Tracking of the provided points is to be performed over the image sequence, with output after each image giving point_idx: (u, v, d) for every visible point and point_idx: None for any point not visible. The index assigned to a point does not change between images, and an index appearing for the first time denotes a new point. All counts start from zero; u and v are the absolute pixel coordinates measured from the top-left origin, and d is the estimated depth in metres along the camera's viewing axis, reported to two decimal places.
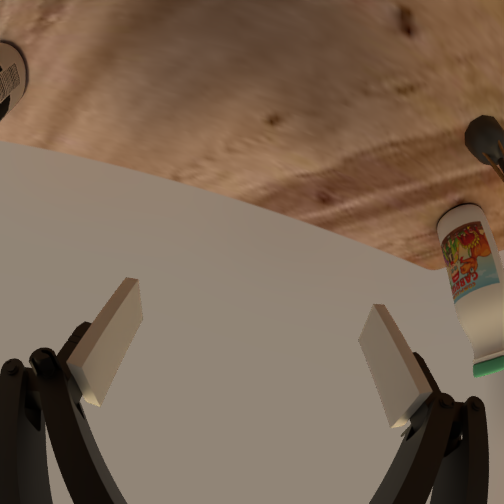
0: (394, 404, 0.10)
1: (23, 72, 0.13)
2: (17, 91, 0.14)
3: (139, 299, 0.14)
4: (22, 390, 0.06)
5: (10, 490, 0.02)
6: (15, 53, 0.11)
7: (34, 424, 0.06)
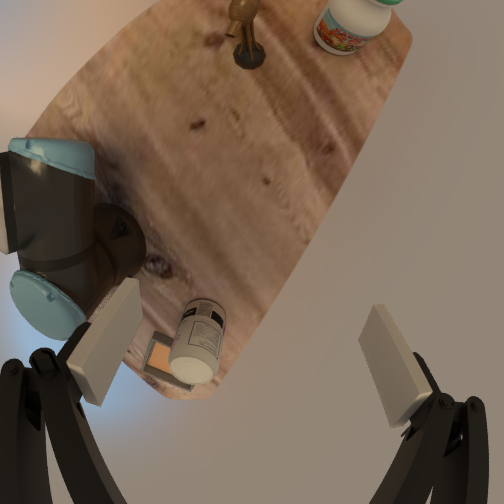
0: (394, 404, 0.10)
1: (209, 301, 0.50)
2: (215, 307, 0.49)
3: (139, 299, 0.14)
4: (22, 390, 0.06)
5: (10, 490, 0.02)
6: (196, 300, 0.50)
7: (34, 424, 0.06)
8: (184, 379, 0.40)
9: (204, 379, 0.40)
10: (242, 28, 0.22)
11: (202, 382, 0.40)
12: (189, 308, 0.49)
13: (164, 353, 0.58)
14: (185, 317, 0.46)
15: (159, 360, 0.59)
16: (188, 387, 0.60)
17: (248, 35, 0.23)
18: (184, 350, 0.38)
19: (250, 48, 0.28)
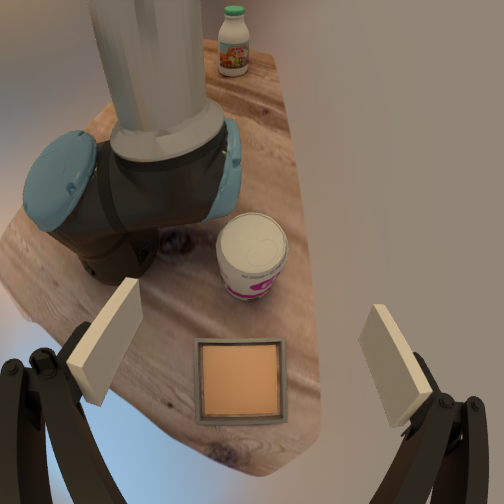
0: (394, 404, 0.10)
1: None
2: None
3: (139, 299, 0.14)
4: (22, 390, 0.06)
5: (10, 490, 0.02)
6: None
7: (34, 424, 0.06)
8: (251, 268, 0.29)
9: (276, 249, 0.30)
10: None
11: (277, 258, 0.29)
12: None
13: (221, 376, 0.38)
14: None
15: (219, 395, 0.37)
16: (280, 418, 0.35)
17: None
18: None
19: None
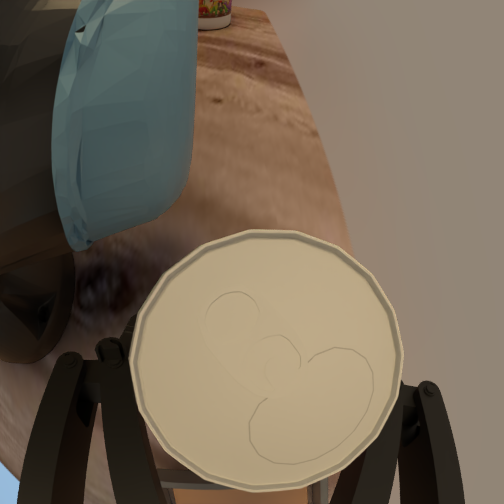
0: None
1: None
2: None
3: None
4: (78, 386, 0.07)
5: (43, 484, 0.03)
6: None
7: (82, 419, 0.08)
8: (271, 473, 0.05)
9: (372, 381, 0.06)
10: None
11: (374, 417, 0.06)
12: None
13: None
14: None
15: None
16: None
17: None
18: (183, 260, 0.08)
19: None
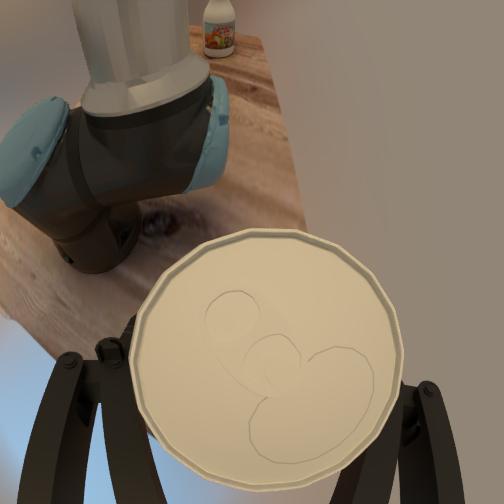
0: None
1: None
2: None
3: None
4: (78, 386, 0.07)
5: (42, 484, 0.03)
6: None
7: (82, 419, 0.08)
8: (271, 473, 0.05)
9: (372, 381, 0.06)
10: None
11: (374, 416, 0.06)
12: None
13: None
14: None
15: None
16: None
17: None
18: None
19: None
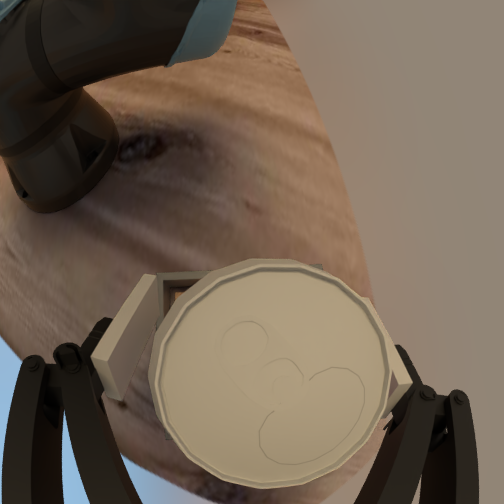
0: None
1: None
2: None
3: (157, 295, 0.15)
4: (42, 387, 0.07)
5: (21, 487, 0.03)
6: None
7: (51, 421, 0.07)
8: (277, 472, 0.06)
9: (363, 395, 0.07)
10: None
11: (364, 425, 0.07)
12: None
13: None
14: None
15: None
16: None
17: None
18: (197, 287, 0.08)
19: None
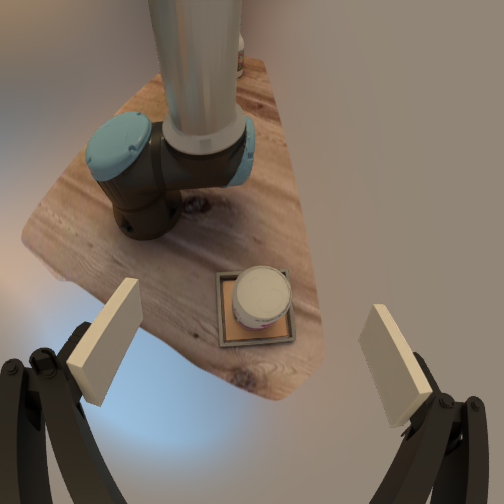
0: (394, 404, 0.10)
1: None
2: None
3: (139, 299, 0.14)
4: (22, 390, 0.06)
5: (10, 490, 0.02)
6: None
7: (34, 424, 0.06)
8: (262, 314, 0.35)
9: (282, 296, 0.36)
10: None
11: (283, 304, 0.36)
12: None
13: None
14: None
15: None
16: (290, 337, 0.47)
17: None
18: (244, 272, 0.38)
19: None
